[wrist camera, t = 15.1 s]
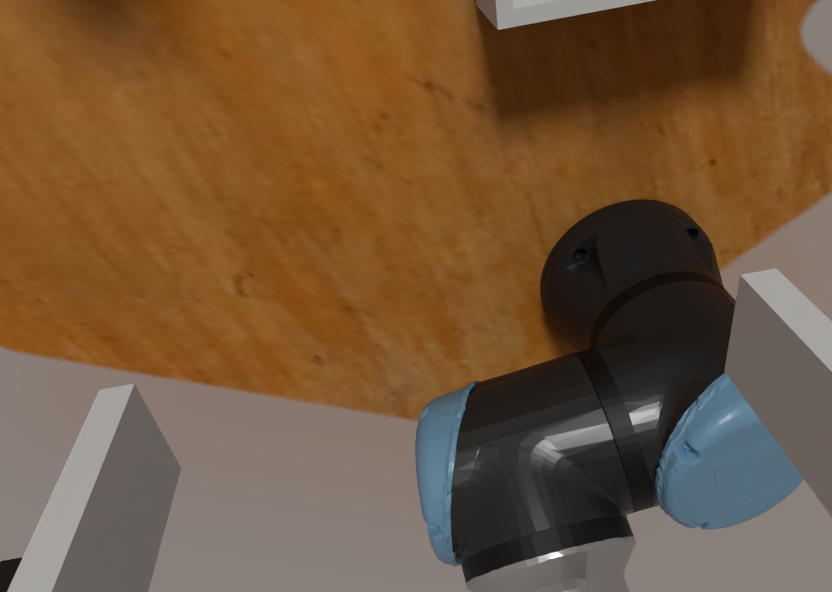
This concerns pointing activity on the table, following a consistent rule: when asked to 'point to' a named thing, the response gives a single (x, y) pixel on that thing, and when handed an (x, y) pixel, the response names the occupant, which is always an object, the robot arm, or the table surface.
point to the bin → (542, 10)
